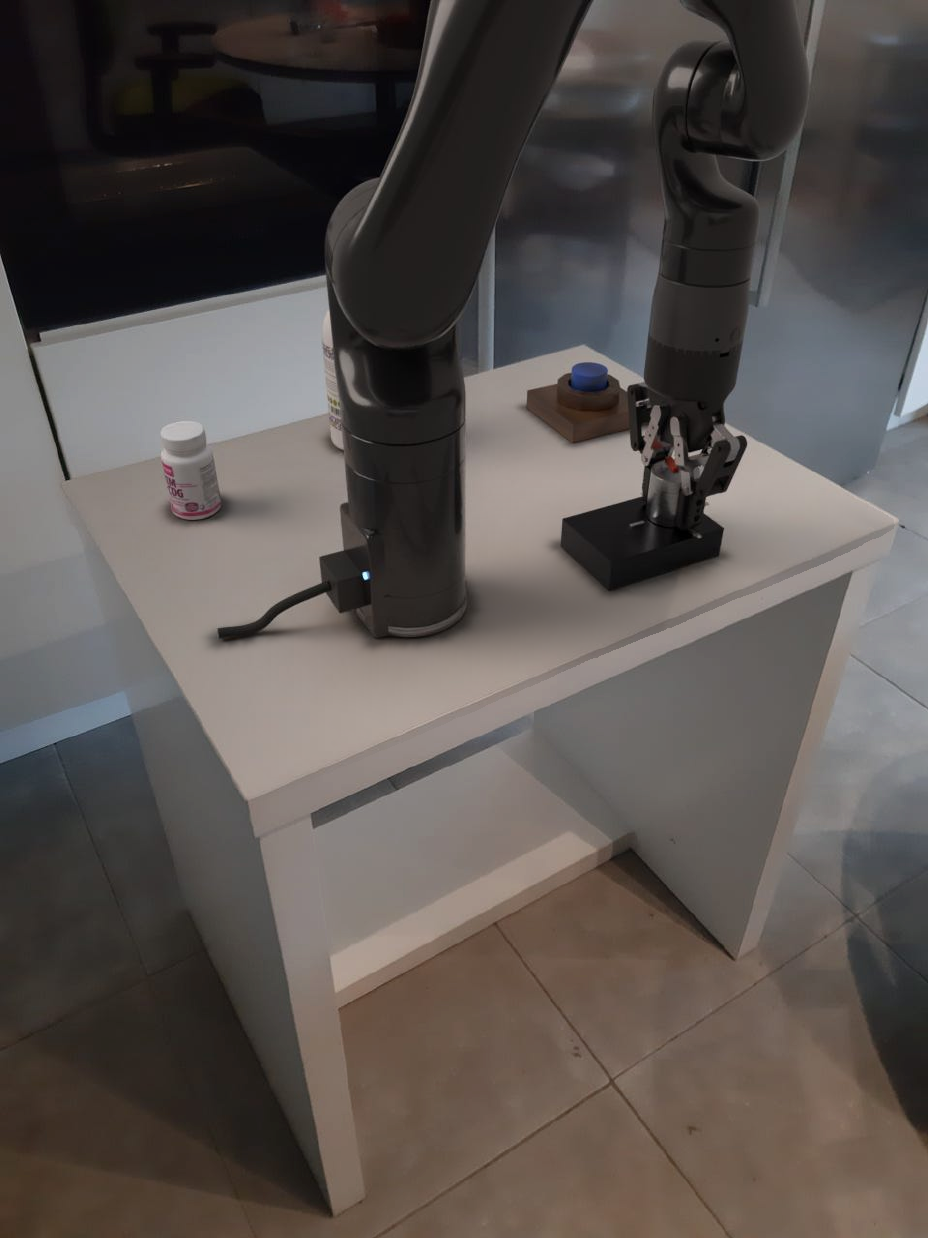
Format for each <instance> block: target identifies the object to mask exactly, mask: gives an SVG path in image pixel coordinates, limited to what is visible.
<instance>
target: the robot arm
mask: <svg viewBox="0 0 928 1238" xmlns="http://www.w3.org/2000/svg"><path fill="white" fill-rule="evenodd" d="M593 2H594V0H430V4H429V9H428V14H427V19H426V26H425V31H424V38H423V44H422V49H421V55H420V62H419V67H418V72H417V75H416V80H415V84H414V89H413V93H412V96H411V100H410V103H409V105H408V109H407V112H406V114H405V117H404V120H403V122H402V126H401V128H400V130H399V133H398V135H397V138H396V140H395V142H394V145H393V146H392V149H391V152H390V153H389V155H388V158H387V160H386V162H385V165H384V167H383V170H382V171H381V173H380V176H379V177H375V178H371V179H368V180H366V181H364V182H362V183H360V184H357V185H356V186H355V187H353V188H352V189H351V190H350V191H349V192H347V193H346V194H345V195H344V196H343V198H341V199H340V201H339V202H338V203H337V205H336V207H335V208H334V210H333V212H332V213H331V215H330V218H329V221H328V222H327V223H328V224H327V227H326V231H325V237H324V265H325V266H324V268H325V280H326V291H327V301H328V309H329V313H330V323H331V333H332V344H333V356H334V366H335V374H336V381H337V387H338V395H339V402H340V412H341V421H342V422H341V423H342V435H343V447H344V450H343V458H344V471H345V482H346V483H345V484H346V493H347V494H346V495H347V501H346V502H343V503H340V505H339V514H340V525H341V537H342V546H343V547H342V548H343V549H342V550H340V551H336V552H333V553H329V554H325V555H321V556H319V557H318V561H319V569H320V570H319V571H320V578H321V582H320V583H317V584H315V585H313V586H311V587H308V588H306V589H303V590H300V591H298V592H296V593H294V594H291V595H290V596H287V597H286V598H284V599H282V600H280V601H279V602H277V603H275V604H274V605H273V606H271V607H269V609H268V610H267V611H266V612H265V613H264V614H263V615H262V616H261V617H260V618H259V619H257V620H255V621H253V622H250V623H247V624H243V625H234V626H233V625H232V626H225V627H218V628H217V634H218V639H225V638H236V637H243V636H244V637H245V636H248V635H249V636H250V635H252V634H255V633H258V632H260V631H262V630H264V629H265V628H266V627H268V626H269V625H270V624H271V623H272V622H273V621H274V620H275V619H276V618H277V617H278V616H279V615H281V614H282V613H284V612H285V611H287V610H289V609H291V608H293V607H295V606H297V605H299V604H301V603H304V602H305V601H308V600H310V599H313V598H316V597H318V596H320V595H323V594H325V595H327V597H328V598H329V600H330V602H331V603H332V604H333V606H334V607H335V609H336V610H337V611H338V613H339V614H344V613H347V612H350V611H353V610H354V611H355V612H356V614H357V616H358V618H359V619H360V620H361V621H362V622H363V624H364V625H365V626H366V628H367V629H368V631H369V632H370V633H371V635H372V636H373V637H374V638H376V639H379V638H382V637H386V636H387V637H388V636H392V637H399V638H401V637H402V638H413V637H414V638H416V637H425V636H430V635H434V634H437V633H440V632H442V631H445V630H446V629H448V628H451V627H452V626H454V624H456V623H458V621H459V620H460V619H461V618H462V617H463V615H464V614H465V611H466V609H467V605H468V593H467V592H468V591H467V579H466V577H467V575H466V574H467V572H466V571H467V570H466V556H467V555H466V551H467V550H466V543H467V541H466V539H467V538H466V536H467V535H466V531H467V530H466V526H467V525H466V515H467V514H466V512H467V511H466V500H467V499H466V454H467V453H466V452H467V451H466V450H467V449H466V447H467V444H466V441H467V440H466V432H467V431H466V429H467V427H466V425H467V424H466V421H467V420H466V416H467V415H466V411H467V410H466V409H467V408H466V407H467V406H466V405H467V404H466V399H467V398H466V397H467V396H466V392H467V391H466V384H465V383H466V382H465V377H464V372H463V368H462V367H463V366H462V360H461V355H460V347H459V339H458V320H459V319H460V318H461V316H462V314H464V312H465V311H466V309H467V307H468V305H469V303H470V301H471V299H472V296H473V293H474V291H475V288H476V285H477V282H478V280H479V276H480V273H481V270H482V267H483V264H484V261H485V258H486V255H487V252H488V249H489V245H490V242H491V240H492V236H493V233H494V232H495V231H494V230H495V227H496V224H497V221H498V219H499V215H500V212H501V211H502V210H501V209H502V206H503V204H504V200H505V197H506V194H507V192H508V188H509V186H510V184H511V180H512V178H513V175H514V172H515V170H516V168H517V165H518V162H519V160H520V158H521V155H522V154H523V153H522V152H523V150H524V148H525V146H526V143H527V141H528V140H529V137H530V135H531V133H532V131H533V129H534V127H535V125H536V123H537V121H538V119H539V117H540V115H541V113H542V111H543V109H544V107H545V105H546V103H547V101H548V99H549V96H550V95H551V93H552V90H553V88H554V86H555V84H556V83H557V80H558V78H559V75H560V74H561V71H562V69H563V67H564V64H565V62H566V60H567V58H568V56H569V54H570V52H571V49H572V47H573V46H574V45H573V44H574V42H575V40H576V38H577V36H578V33H579V31H580V29H581V27H582V24H583V23H584V21H585V18H586V16H587V14H588V13H589V10H590V9H591V7H592V4H593ZM679 3H680V4H681V5H682V7H683V8H685V9H686V10H687V11H688V12H690V13H692V14H694V15H696V16H699V17H701V18H703V19H705V20H707V21H709V22H712V23H713V24H714V25H717V26H718V27H719V28H720V29H721V30H723V32H724V33H725V34H726V37H727V39H728V41H727V40H718V39H707V38H706V39H705V38H696V39H691V40H688V41H687V40H686V41H685V42H683V43H681V44H680V45H679V46H678V47H676V48H675V49H674V50H673V51H672V52H671V53H670V55H669V56H668V58H667V59H666V60H665V62H664V64H663V66H662V67H661V70H660V72H659V74H658V77H657V81H656V83H655V86H654V92H653V96H652V107H651V109H652V110H651V111H652V113H651V117H652V119H651V120H652V130H653V137H654V138H653V139H654V146H655V151H656V158H657V166H658V174H659V181H660V190H661V198H662V206H663V213H664V223H663V229H662V240H661V249H660V257H659V267H658V272H657V273H658V274H657V278H656V281H655V286H654V289H653V294H652V300H651V305H650V313H649V314H650V315H649V324H648V333H647V342H646V351H645V358H644V366H643V367H644V368H643V381H642V382H639V383H633V384H629V385H628V386H627V389H626V391H627V396H628V412H629V427H630V429H629V440H630V448H631V450H632V451H633V452H638V451H639V453H640V454H641V455H640V461H641V464H642V465H643V475H642V483H641V491H642V492H641V493H642V495H641V497H642V500H643V501H644V502H645V503H647V497H648V490H649V482H650V474H651V468H652V466H653V465H654V464H655V463H656V462H659V461H661V460H665V457H669V456H671V457H673V453H674V459H675V465H676V467H677V468H679V469H680V470H681V485H682V491H681V492H680V495H679V501H678V508H677V515H676V522H675V526H676V527H677V528H679V529H680V530H681V531H684V530H688V529H691V528H694V527H697V526H698V525H699V524H700V523H701V522H702V519H703V513H704V514H705V508H706V506H705V502H707V498H708V497H711V496H715V495H718V494H723V493H726V492H727V490H728V489H729V486H730V484H731V482H732V480H733V478H734V476H735V473H736V471H737V469H738V467H739V465H740V462H741V460H742V458H743V457H744V454H745V452H746V449H747V448H748V441H747V438H746V436H744V435H743V434H741V435H736V436H734V435H733V434H732V433H731V432H730V430H728V429H727V427H726V426H725V425H726V414H725V408H724V407H725V406H724V405H725V402H726V400H727V399H728V397H729V395H731V393H732V392H733V390H734V389H735V387H736V385H737V380H738V373H739V369H740V368H739V367H740V361H741V357H742V352H743V351H742V350H743V346H744V345H743V344H744V340H745V332H746V326H747V321H748V316H749V309H750V298H751V297H750V295H751V293H750V292H751V291H750V290H751V278H752V277H751V276H752V273H753V266H754V261H755V255H756V250H757V243H758V237H759V231H760V226H761V215H762V213H761V205H760V203H759V201H758V199H756V197H754V196H753V195H752V194H750V193H748V192H747V191H745V190H744V189H741V188H739V187H738V186H737V185H734V184H733V183H731V182H729V181H728V180H727V179H725V177H724V176H723V175H722V174H721V171H720V168H719V164H718V160H717V156H719V157H726V158H732V159H736V160H737V159H738V160H741V161H749V162H767V161H770V160H774V159H775V158H778V157H779V156H780V155H781V154H783V153H784V152H785V151H786V150H787V149H788V148H789V147H790V146H791V145H792V144H793V142H794V141H795V139H796V138H797V136H798V134H799V133H800V131H801V129H802V127H803V125H804V122H805V118H806V116H807V111H808V107H809V100H810V89H811V85H810V83H811V81H810V70H809V69H810V68H809V62H808V56H807V51H806V46H805V43H804V38H803V33H802V29H801V23H800V20H799V14H798V8H797V4H796V3H797V2H796V0H679ZM646 422H647V428H646V430H645V433H644V435H643V432H642V424H643V423H646ZM698 451H700V453H697V454H694V455H693V454H692V455H690V456H689V453H694V452H698ZM696 467H699V473H700V478H696V479H694V469H695V468H696Z"/></svg>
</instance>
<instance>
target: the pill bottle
mask: <svg viewBox="0 0 928 1238" xmlns="http://www.w3.org/2000/svg"><path fill="white" fill-rule="evenodd" d="M159 433H160V440H161V445H162V450H161V453H160V459H161V464H162V469H163V474H164V479H165V483H166V488H167V494H168V499H169V503H170V508H171V512H172V513H173V514H174V516H176V517H178V518H179V519H183V520H189V521H196V520H203V519H206V518H210V517H211V516H213V515H215V514H216V513H217V512H218V511H219V510H220V509H221V507H222V498H221V492H220V486H219V480H218V476H217V475H218V474H217V469H216V463H215V457H214V453H213V448H212V447H211V445H210V444H209V443H207V435H206V430H205V427H204V425H203V424H201V423H199V422H196V421H191V420H180V421H176V422H175V421H174V422H172V423H168V424H167V425H165V426H163V428H162V429H161V430H160V432H159Z"/></svg>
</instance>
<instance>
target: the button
mask: <svg viewBox="0 0 928 1238" xmlns="http://www.w3.org/2000/svg"><path fill="white" fill-rule="evenodd" d="M571 372H572V373H571ZM571 372H570V373H571V387H572V388H573V389H576V390H580V391H583V392H597V391H602V390H605V389H606V386H607V376H608V374H609V369H608V366H606V365H604V364H601V363H598V362H591V361H585V362H579V363H576V364H574V365H573V366H571Z"/></svg>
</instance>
